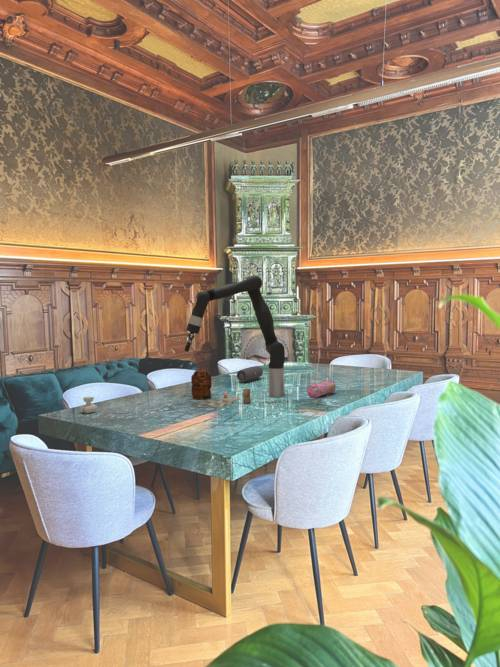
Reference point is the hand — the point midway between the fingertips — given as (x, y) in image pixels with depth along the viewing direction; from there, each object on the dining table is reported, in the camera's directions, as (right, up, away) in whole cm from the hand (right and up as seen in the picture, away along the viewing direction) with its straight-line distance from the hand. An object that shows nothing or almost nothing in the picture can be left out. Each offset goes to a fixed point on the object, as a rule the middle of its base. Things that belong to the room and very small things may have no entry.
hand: (186, 351), depth 260 cm
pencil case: (+80, -28, +15) cm, 86 cm away
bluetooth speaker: (+37, -25, +70) cm, 83 cm away
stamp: (-50, -33, -17) cm, 62 cm away
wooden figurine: (+8, -29, +13) cm, 33 cm away
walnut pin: (+35, -30, -2) cm, 46 cm away
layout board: (+18, -30, -3) cm, 35 cm away
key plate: (+25, -29, +8) cm, 39 cm away
